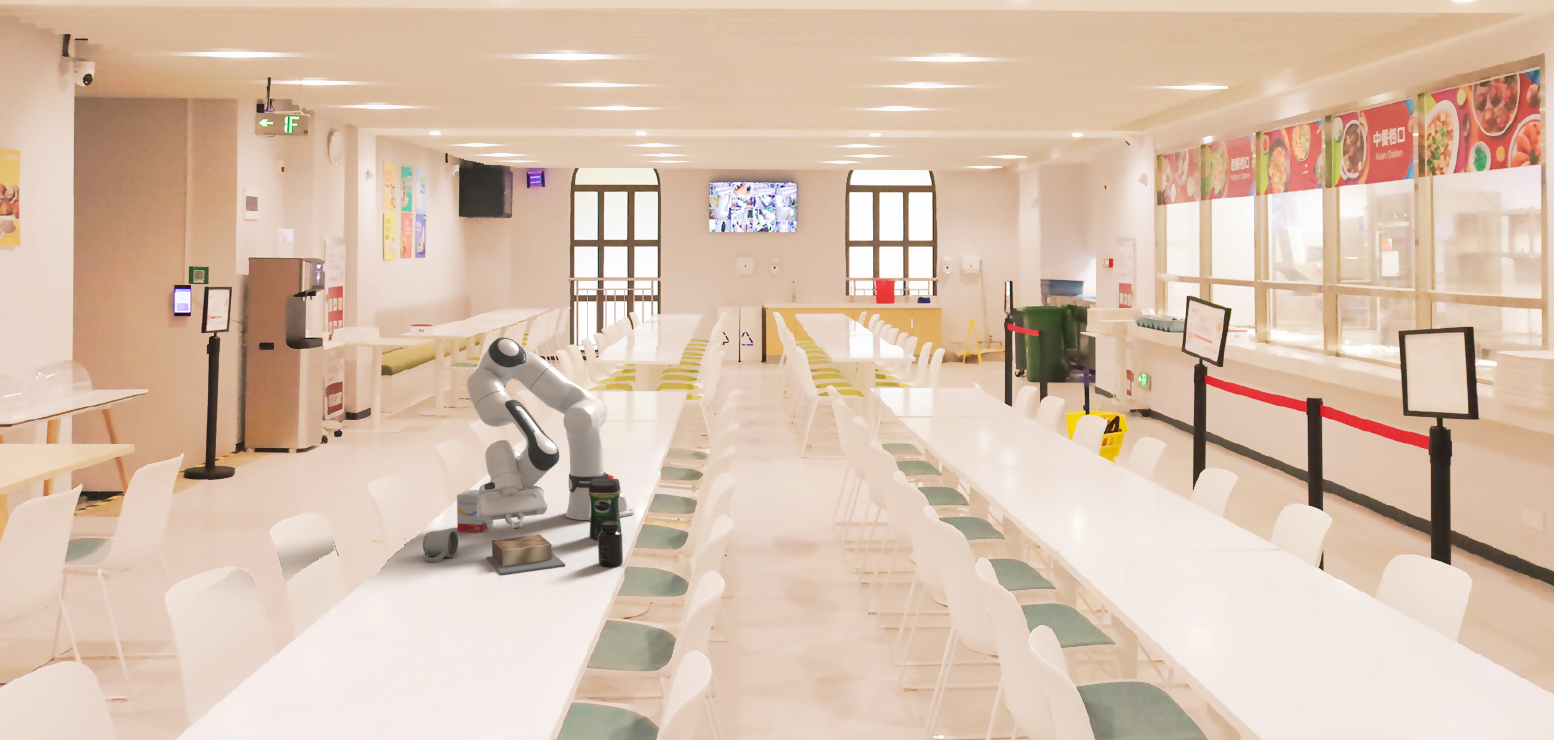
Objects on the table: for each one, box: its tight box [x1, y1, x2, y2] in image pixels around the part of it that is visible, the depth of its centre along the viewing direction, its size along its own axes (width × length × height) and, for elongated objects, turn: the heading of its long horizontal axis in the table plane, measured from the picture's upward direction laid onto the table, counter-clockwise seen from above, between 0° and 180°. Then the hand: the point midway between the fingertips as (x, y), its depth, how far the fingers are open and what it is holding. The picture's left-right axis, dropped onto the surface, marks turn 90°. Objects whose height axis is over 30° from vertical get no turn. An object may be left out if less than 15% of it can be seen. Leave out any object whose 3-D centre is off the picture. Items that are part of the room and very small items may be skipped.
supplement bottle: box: [597, 521, 624, 568], centre depth 307 cm, size 7×7×12 cm
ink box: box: [456, 489, 494, 534], centre depth 344 cm, size 9×9×12 cm
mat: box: [486, 552, 566, 576], centre depth 308 cm, size 18×17×1 cm
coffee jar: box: [589, 478, 622, 541], centre depth 334 cm, size 10×8×19 cm
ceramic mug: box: [422, 529, 459, 563], centre depth 312 cm, size 11×8×8 cm
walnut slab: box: [491, 534, 553, 566], centre depth 311 cm, size 14×4×12 cm
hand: (517, 528), depth 315 cm, fingers closed
